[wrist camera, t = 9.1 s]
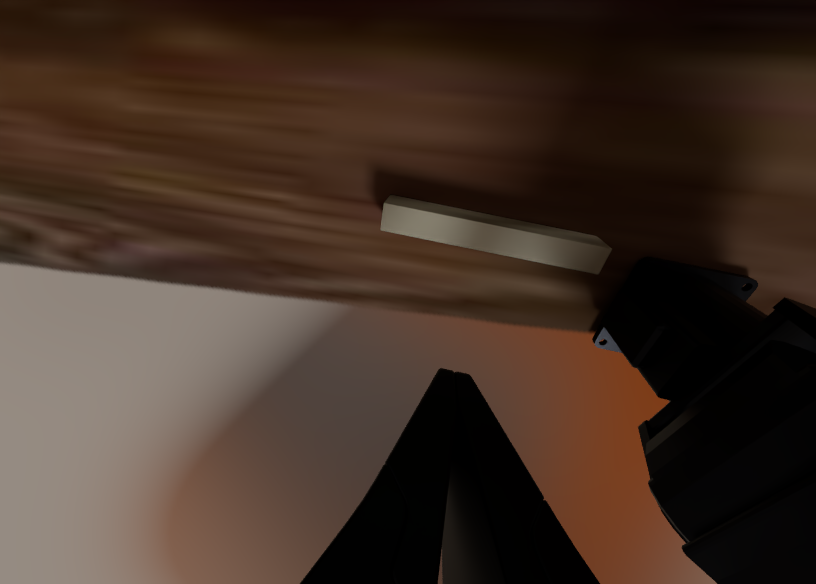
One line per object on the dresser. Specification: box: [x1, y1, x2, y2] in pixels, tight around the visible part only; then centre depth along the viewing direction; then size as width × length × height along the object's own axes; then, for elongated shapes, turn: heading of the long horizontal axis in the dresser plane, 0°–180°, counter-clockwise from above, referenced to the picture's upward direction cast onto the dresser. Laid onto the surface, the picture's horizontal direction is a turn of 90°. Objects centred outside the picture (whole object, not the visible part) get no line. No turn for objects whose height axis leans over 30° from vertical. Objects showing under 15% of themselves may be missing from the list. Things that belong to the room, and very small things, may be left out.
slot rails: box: [381, 195, 612, 274], centre depth 13 cm, size 12×18×2 cm
